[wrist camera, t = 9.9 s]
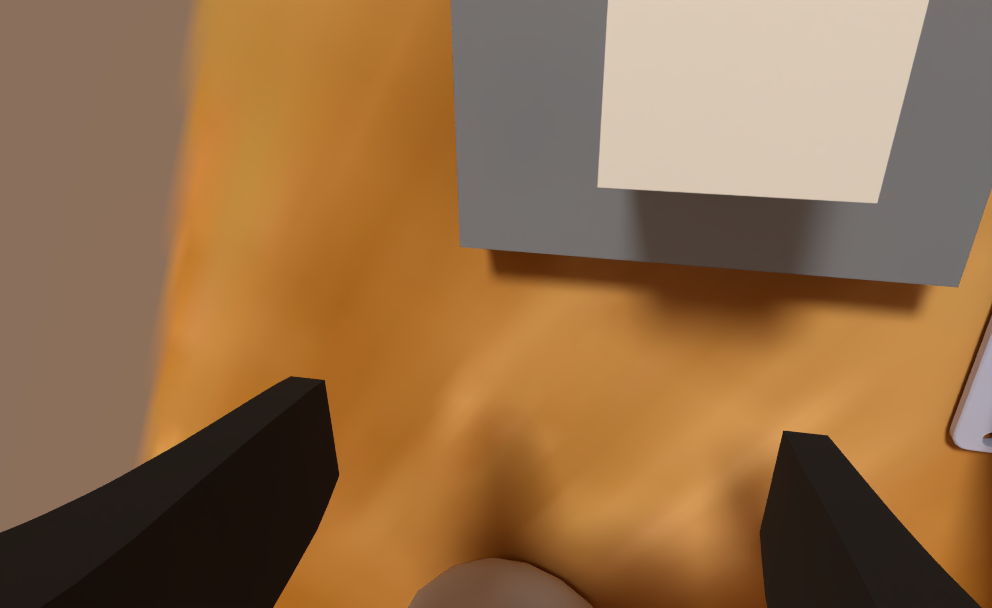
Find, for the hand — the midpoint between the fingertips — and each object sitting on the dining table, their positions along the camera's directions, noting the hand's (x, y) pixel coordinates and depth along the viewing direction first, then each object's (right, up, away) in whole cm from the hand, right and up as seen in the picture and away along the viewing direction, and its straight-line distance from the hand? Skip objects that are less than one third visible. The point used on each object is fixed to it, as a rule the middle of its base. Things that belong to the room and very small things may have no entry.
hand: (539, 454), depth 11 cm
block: (+4, +9, +4) cm, 10 cm away
